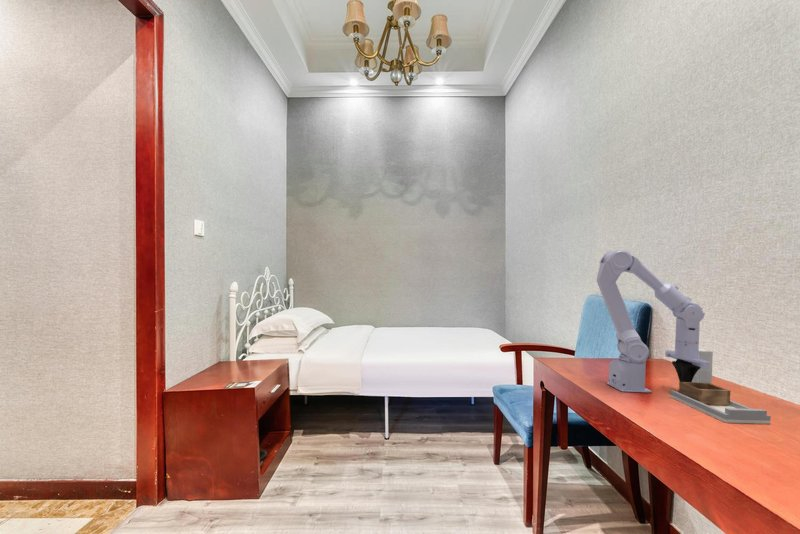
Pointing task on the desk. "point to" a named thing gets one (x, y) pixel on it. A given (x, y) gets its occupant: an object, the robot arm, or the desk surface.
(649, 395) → the desk surface
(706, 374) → the skincare box
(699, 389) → the crate
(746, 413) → the bay
